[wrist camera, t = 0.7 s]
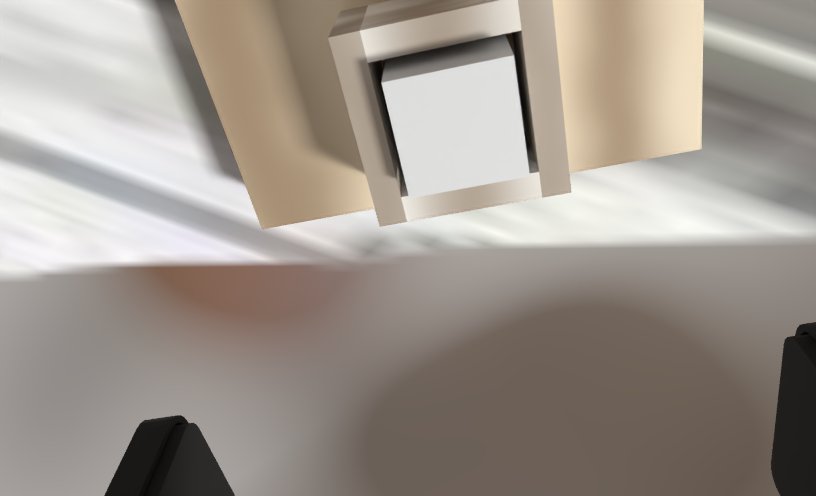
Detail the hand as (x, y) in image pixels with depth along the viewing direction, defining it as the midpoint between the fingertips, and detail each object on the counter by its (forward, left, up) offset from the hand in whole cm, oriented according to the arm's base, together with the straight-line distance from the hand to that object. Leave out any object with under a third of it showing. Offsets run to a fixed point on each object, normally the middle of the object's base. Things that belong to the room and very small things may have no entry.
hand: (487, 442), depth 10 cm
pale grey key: (0, 0, -16) cm, 16 cm away
